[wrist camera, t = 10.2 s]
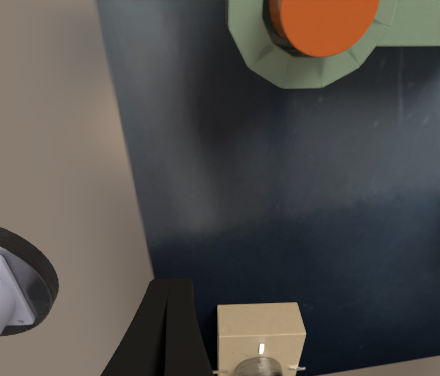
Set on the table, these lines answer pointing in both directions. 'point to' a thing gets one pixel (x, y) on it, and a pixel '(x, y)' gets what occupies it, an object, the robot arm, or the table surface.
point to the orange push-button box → (333, 65)
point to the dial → (259, 367)
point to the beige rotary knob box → (259, 335)
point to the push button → (322, 23)
